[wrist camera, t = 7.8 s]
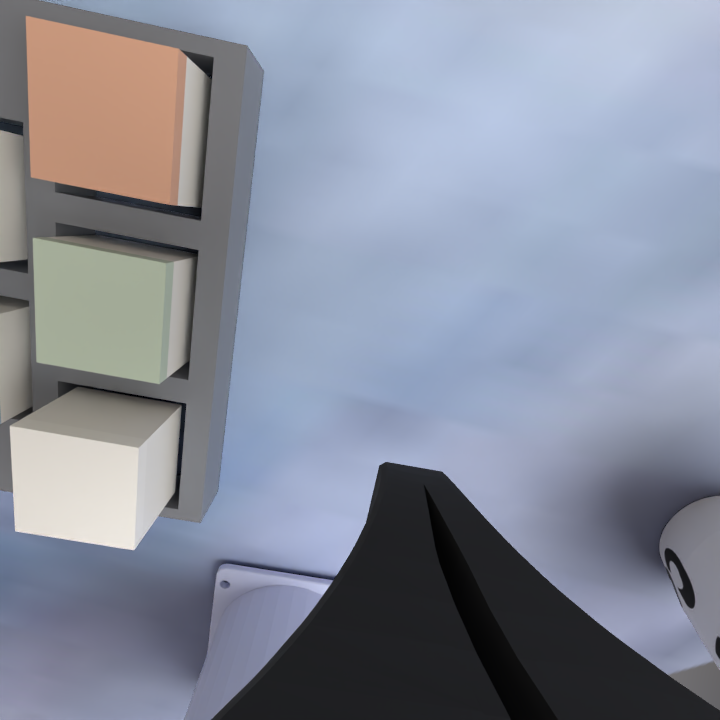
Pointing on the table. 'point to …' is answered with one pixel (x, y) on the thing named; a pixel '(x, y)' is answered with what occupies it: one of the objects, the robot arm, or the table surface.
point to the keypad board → (150, 238)
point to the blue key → (14, 358)
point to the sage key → (113, 306)
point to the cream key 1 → (12, 198)
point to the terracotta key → (116, 114)
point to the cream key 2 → (94, 467)
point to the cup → (696, 567)
